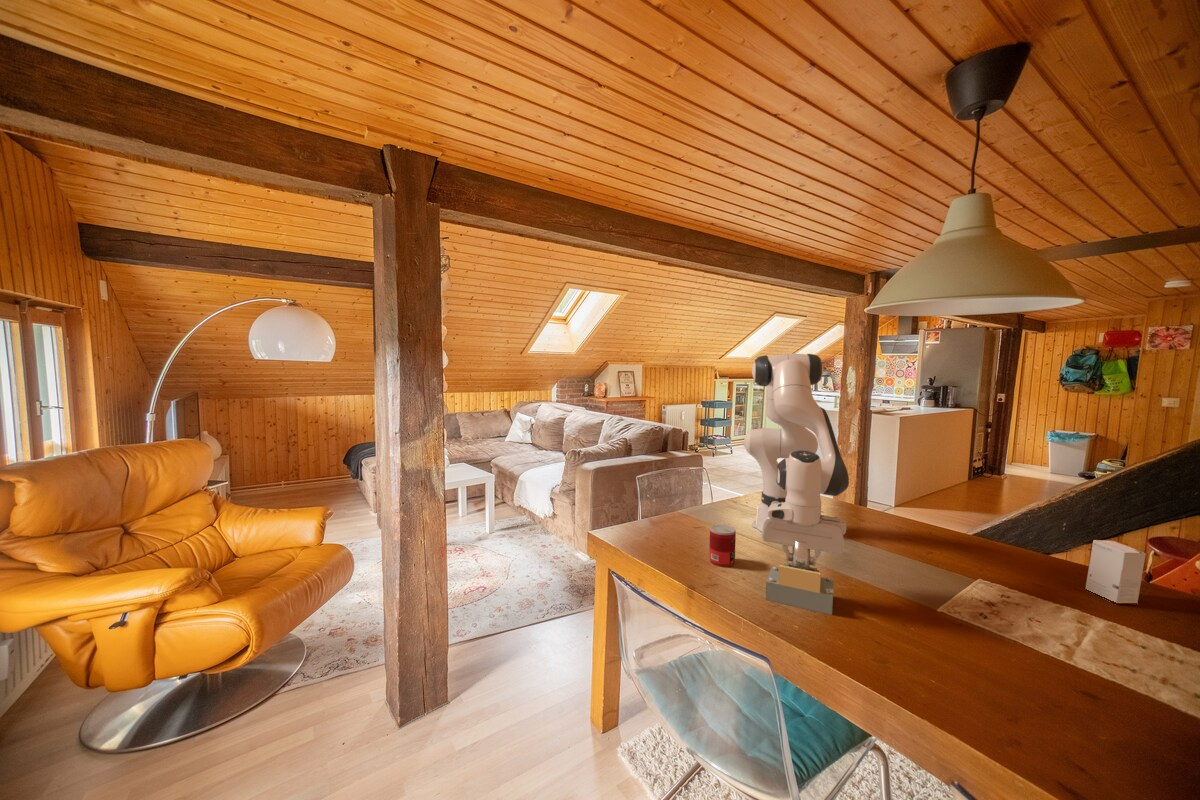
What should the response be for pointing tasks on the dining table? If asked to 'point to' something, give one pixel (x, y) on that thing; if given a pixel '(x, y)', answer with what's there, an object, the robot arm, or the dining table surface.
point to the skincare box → (1115, 571)
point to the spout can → (801, 556)
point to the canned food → (722, 545)
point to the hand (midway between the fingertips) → (800, 562)
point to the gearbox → (800, 588)
